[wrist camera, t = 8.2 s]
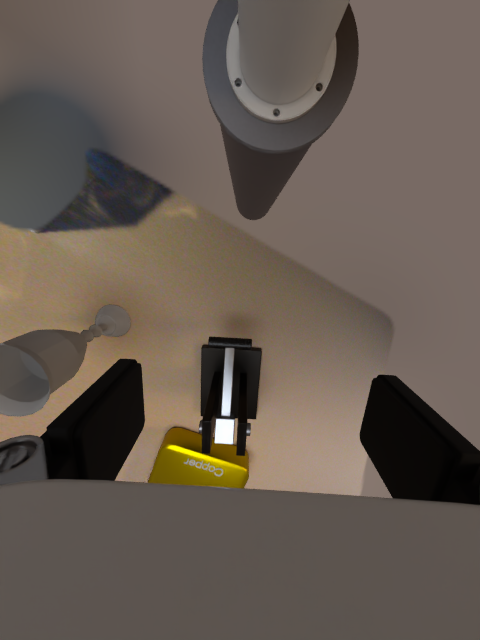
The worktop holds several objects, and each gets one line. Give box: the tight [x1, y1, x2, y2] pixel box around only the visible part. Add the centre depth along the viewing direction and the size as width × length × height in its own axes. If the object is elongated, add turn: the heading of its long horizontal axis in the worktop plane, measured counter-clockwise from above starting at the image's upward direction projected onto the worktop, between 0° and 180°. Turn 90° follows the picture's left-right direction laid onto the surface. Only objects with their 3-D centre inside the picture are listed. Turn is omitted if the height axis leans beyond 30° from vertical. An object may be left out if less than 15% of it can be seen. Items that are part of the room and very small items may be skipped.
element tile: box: [148, 428, 249, 488], centre depth 44 cm, size 15×15×5 cm
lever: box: [208, 337, 252, 444], centre depth 31 cm, size 12×5×2 cm, turn 178°
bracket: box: [199, 345, 262, 456], centre depth 35 cm, size 12×9×13 cm
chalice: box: [0, 305, 131, 416], centre depth 30 cm, size 7×7×18 cm
